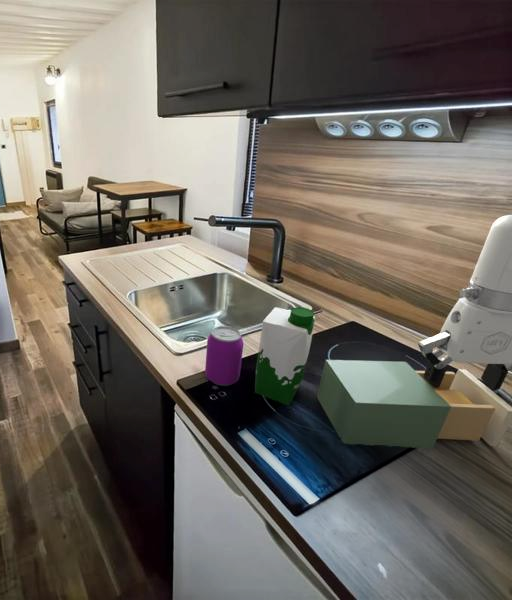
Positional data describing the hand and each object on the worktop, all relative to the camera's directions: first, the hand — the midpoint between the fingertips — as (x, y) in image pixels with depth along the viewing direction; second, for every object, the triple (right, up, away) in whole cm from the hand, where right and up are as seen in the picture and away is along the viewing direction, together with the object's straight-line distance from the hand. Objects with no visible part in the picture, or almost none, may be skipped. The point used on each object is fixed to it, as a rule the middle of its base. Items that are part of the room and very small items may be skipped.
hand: (459, 383), depth 64 cm
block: (0, -7, +3) cm, 8 cm away
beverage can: (-36, -3, +20) cm, 42 cm away
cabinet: (-12, -9, +6) cm, 16 cm away
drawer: (+1, -8, +4) cm, 9 cm away
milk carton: (-26, -5, +15) cm, 30 cm away
